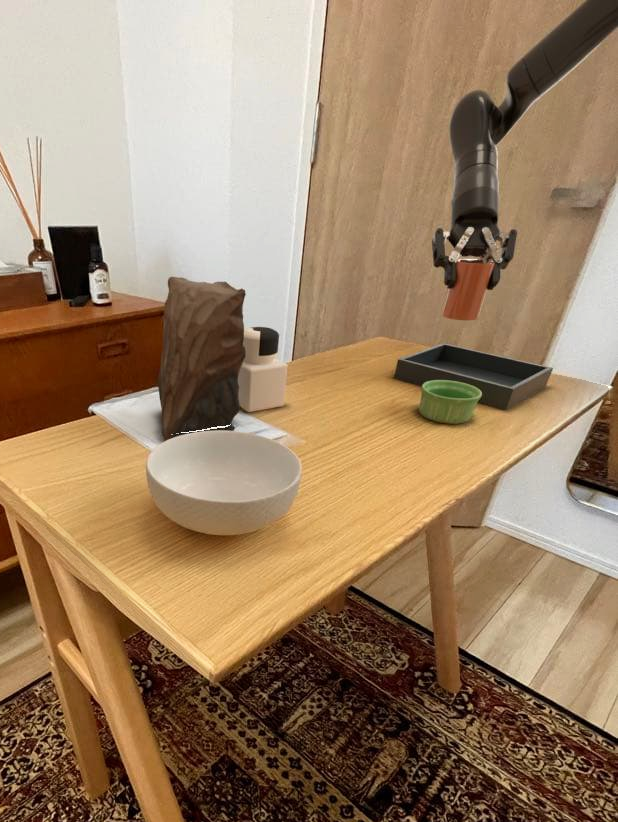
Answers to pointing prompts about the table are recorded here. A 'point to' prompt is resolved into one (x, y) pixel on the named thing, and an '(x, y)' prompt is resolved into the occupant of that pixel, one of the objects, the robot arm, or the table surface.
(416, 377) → the tray
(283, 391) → the medicine bottle
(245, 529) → the cereal bowl
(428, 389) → the ramekin
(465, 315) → the cup
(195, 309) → the brown carved rock
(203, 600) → the table surface
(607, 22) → the robot arm
